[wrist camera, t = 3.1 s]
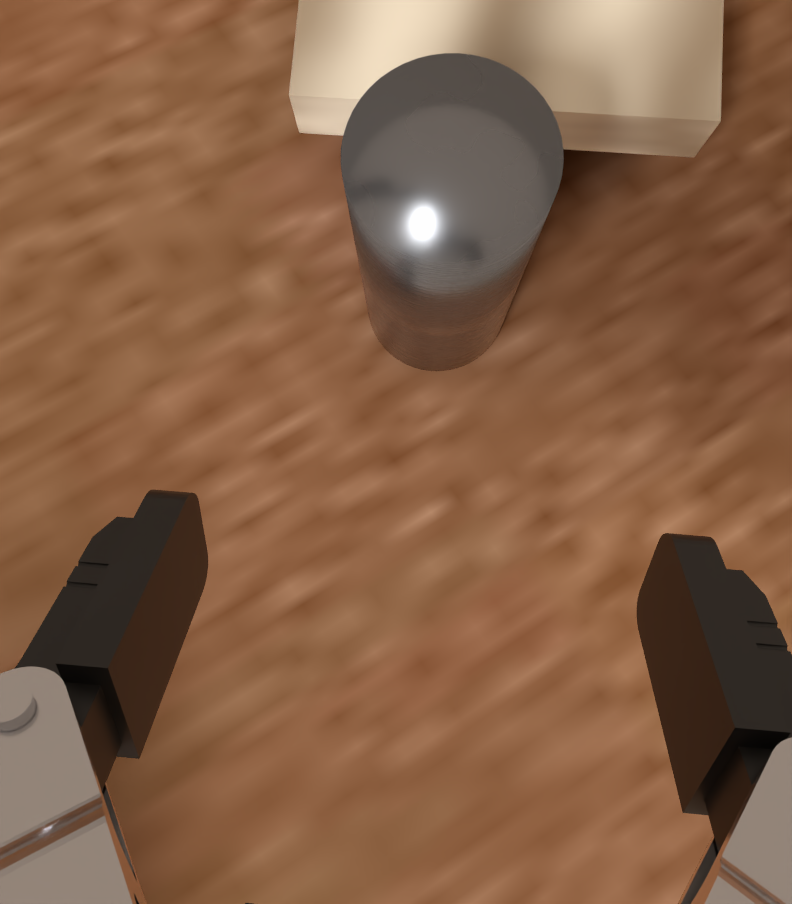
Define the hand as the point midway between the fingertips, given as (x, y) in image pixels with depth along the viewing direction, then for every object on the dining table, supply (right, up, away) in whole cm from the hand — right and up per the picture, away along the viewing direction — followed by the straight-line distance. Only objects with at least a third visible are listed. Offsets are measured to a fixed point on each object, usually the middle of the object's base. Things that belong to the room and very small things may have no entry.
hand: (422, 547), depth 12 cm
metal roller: (+1, +7, +13) cm, 15 cm away
